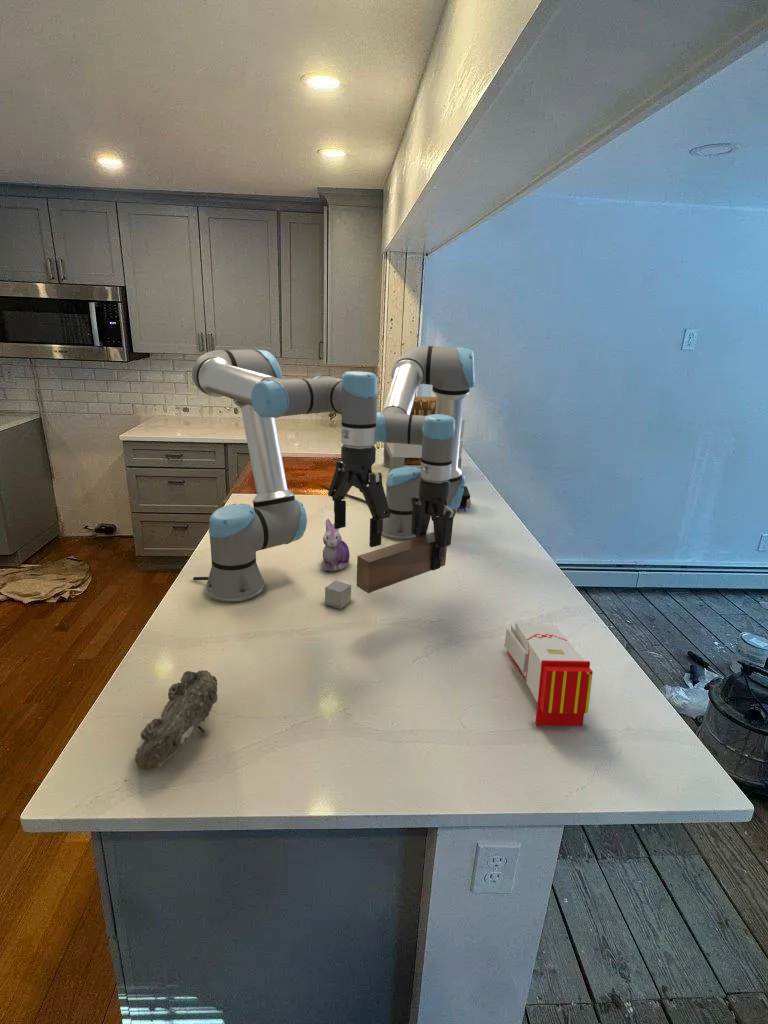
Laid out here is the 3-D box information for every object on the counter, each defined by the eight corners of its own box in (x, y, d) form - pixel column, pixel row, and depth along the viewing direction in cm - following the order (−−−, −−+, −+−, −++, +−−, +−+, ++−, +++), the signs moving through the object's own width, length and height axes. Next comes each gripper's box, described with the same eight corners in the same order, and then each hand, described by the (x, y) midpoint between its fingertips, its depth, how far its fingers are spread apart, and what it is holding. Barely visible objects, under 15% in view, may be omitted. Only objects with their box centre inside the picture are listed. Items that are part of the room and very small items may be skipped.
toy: (550, 607, 134) (601, 667, 105) (545, 659, 137) (594, 732, 108) (499, 606, 134) (537, 666, 104) (495, 659, 137) (530, 731, 107)
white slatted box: (382, 463, 289) (386, 382, 275) (445, 464, 293) (451, 384, 279) (390, 482, 257) (394, 392, 243) (460, 483, 261) (468, 394, 247)
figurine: (327, 574, 167) (327, 527, 162) (315, 561, 175) (315, 515, 170) (356, 569, 171) (357, 523, 166) (343, 556, 179) (343, 511, 174)
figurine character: (470, 516, 223) (465, 500, 237) (473, 499, 220) (467, 484, 233) (453, 516, 223) (449, 500, 236) (455, 498, 220) (451, 483, 233)
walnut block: (356, 586, 135) (357, 555, 132) (433, 559, 151) (435, 531, 148) (368, 593, 132) (369, 562, 129) (445, 565, 148) (447, 537, 145)
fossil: (167, 671, 114) (219, 638, 109) (200, 702, 116) (252, 671, 112) (109, 762, 94) (169, 727, 89) (151, 796, 97) (212, 765, 92)
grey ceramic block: (324, 604, 151) (325, 587, 149) (335, 596, 155) (335, 580, 153) (340, 609, 149) (340, 592, 147) (350, 601, 153) (351, 584, 151)
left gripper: (312, 436, 130) (313, 523, 137) (380, 459, 112) (377, 558, 119) (340, 433, 134) (339, 517, 141) (409, 454, 116) (405, 550, 123)
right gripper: (399, 472, 143) (395, 557, 151) (450, 490, 130) (442, 581, 138) (421, 468, 147) (415, 550, 155) (472, 485, 135) (463, 573, 143)
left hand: (357, 536), depth 130 cm, fingers open, 13 cm apart
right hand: (428, 565), depth 147 cm, fingers closed on walnut block, 4 cm apart
